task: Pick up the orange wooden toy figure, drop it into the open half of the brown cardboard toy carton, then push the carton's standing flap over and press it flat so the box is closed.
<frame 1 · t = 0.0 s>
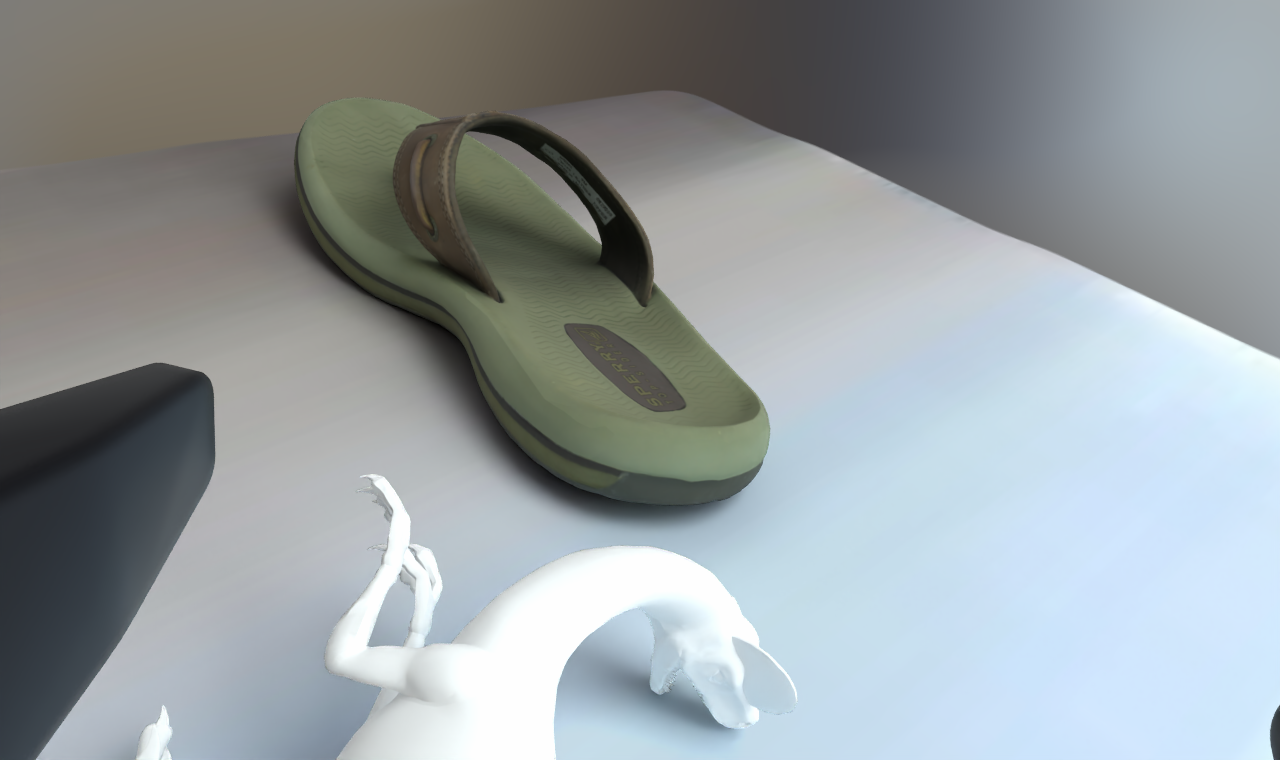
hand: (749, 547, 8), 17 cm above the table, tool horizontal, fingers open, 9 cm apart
sandal: (512, 323, 45), on the table
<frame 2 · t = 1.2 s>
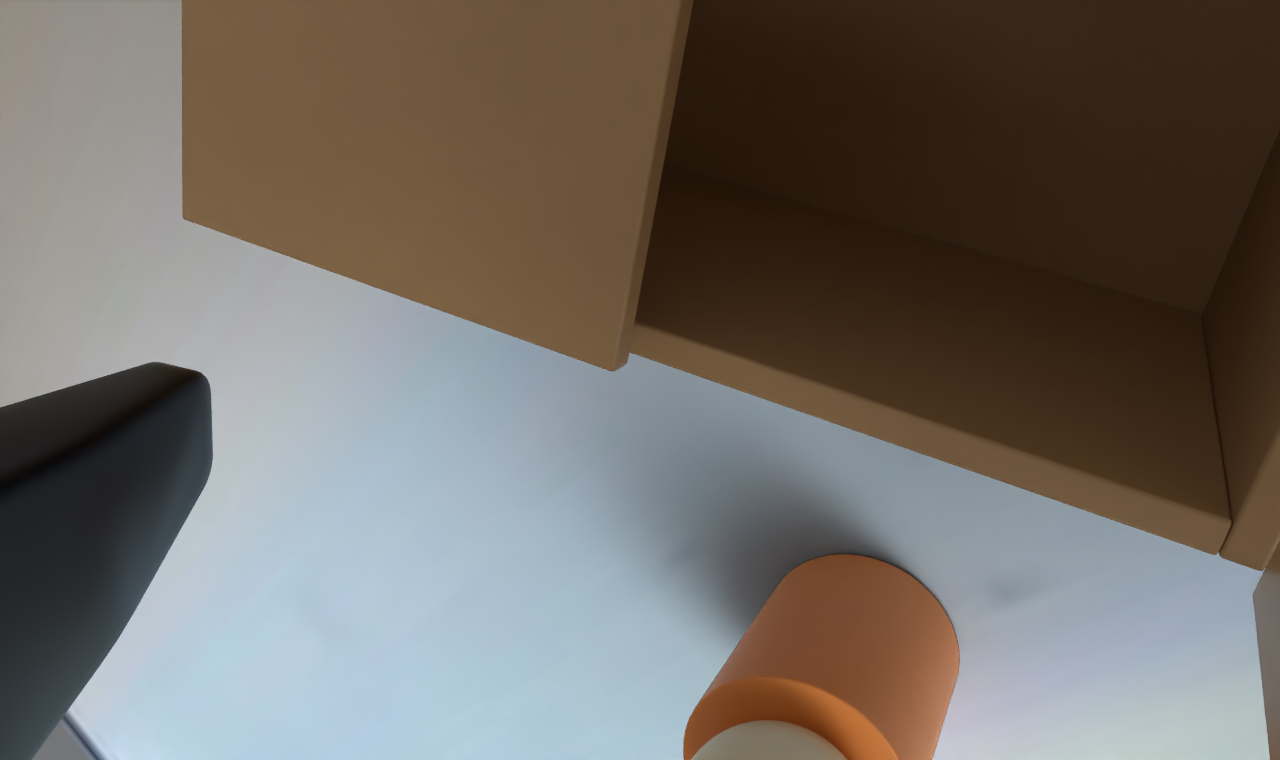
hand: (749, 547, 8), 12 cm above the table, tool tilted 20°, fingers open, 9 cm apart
toy: (859, 642, 21), on the table
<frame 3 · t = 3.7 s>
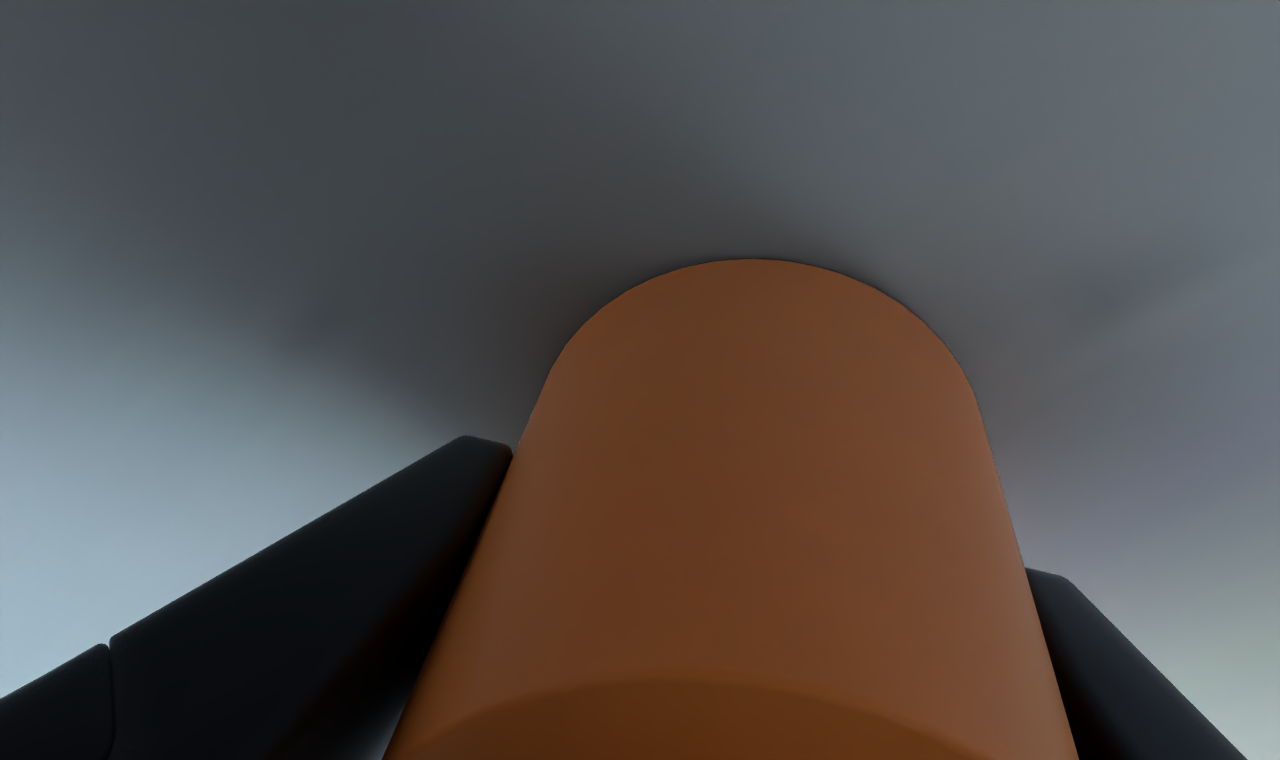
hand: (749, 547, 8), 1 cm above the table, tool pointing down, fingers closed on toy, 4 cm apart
toy: (753, 462, 9), on the table, touching gripper
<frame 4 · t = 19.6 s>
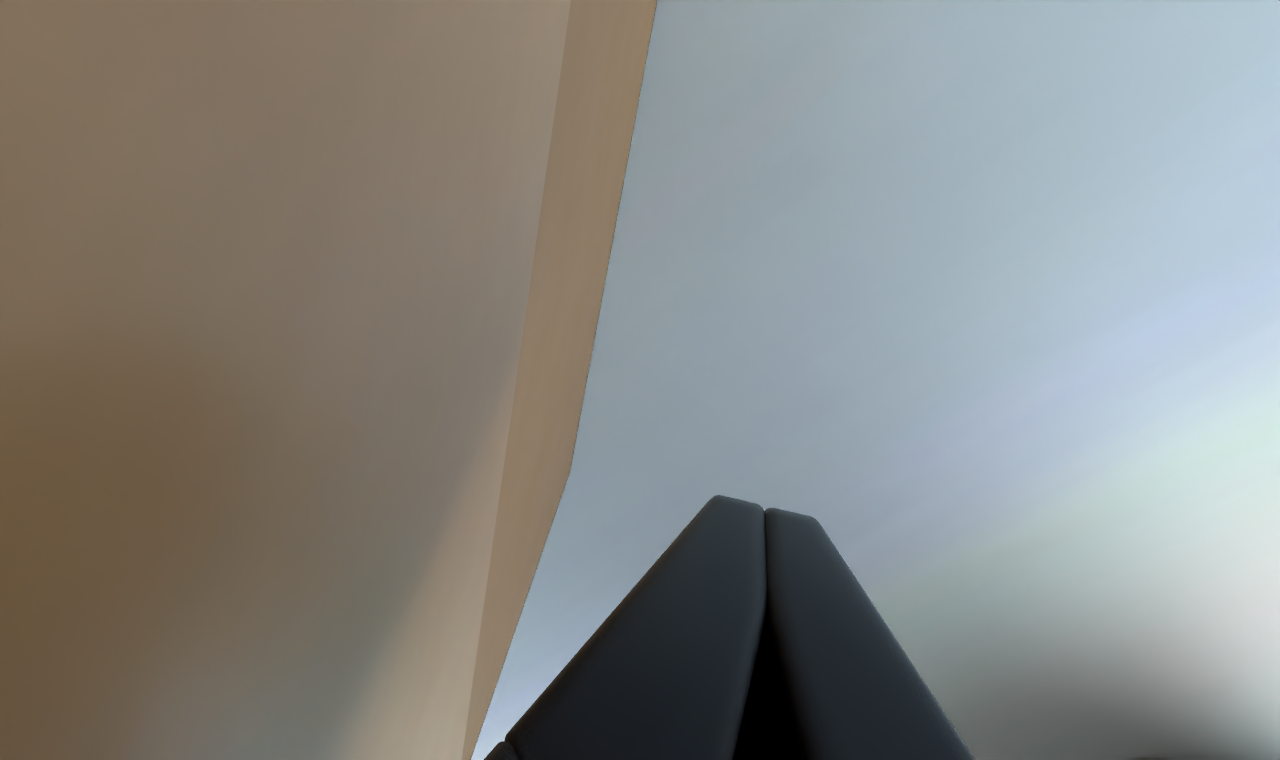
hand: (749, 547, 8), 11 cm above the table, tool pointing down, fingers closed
carton: (268, 39, 18), on the table
flap: (349, 610, 7), point 12 cm above the table, hinge at 86.0°, touching gripper
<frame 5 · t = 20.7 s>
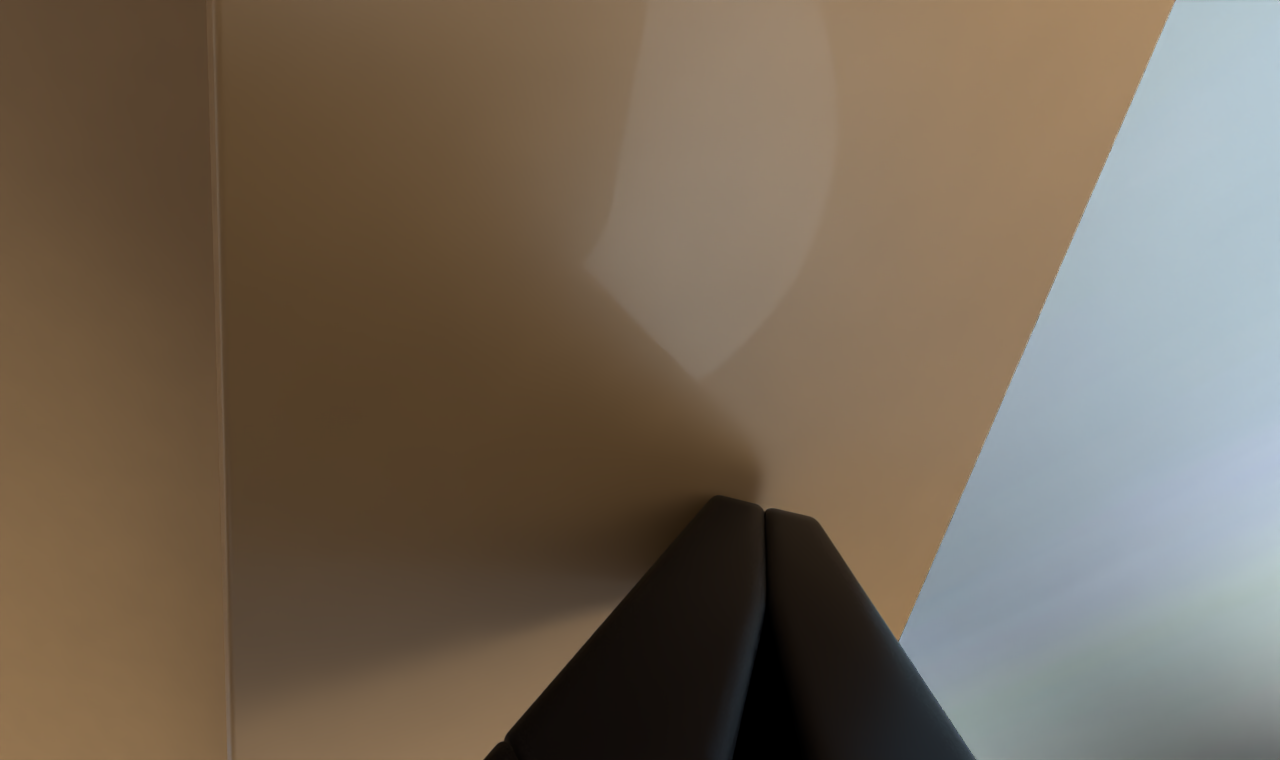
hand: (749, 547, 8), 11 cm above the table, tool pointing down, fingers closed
carton: (515, 95, 18), on the table
flap: (646, 536, 8), point 11 cm above the table, hinge at 31.9°, touching gripper
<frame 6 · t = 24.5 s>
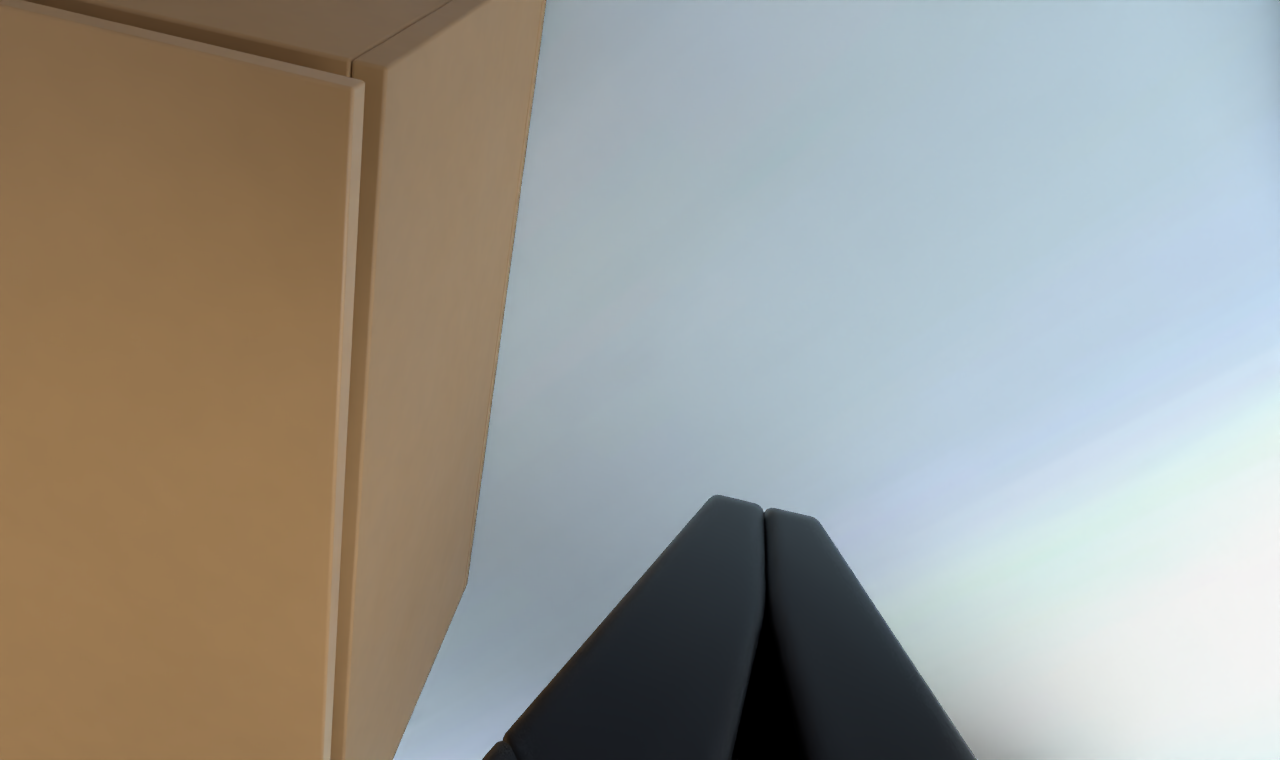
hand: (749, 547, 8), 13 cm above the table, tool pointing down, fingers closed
carton: (211, 255, 22), on the table
flap: (117, 557, 14), point 9 cm above the table, hinge at -1.1°
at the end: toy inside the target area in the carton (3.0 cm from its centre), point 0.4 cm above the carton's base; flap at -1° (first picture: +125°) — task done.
